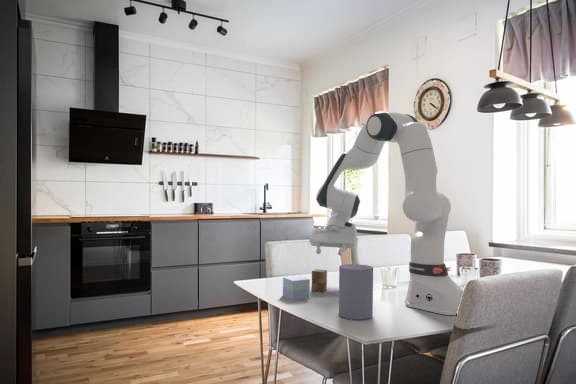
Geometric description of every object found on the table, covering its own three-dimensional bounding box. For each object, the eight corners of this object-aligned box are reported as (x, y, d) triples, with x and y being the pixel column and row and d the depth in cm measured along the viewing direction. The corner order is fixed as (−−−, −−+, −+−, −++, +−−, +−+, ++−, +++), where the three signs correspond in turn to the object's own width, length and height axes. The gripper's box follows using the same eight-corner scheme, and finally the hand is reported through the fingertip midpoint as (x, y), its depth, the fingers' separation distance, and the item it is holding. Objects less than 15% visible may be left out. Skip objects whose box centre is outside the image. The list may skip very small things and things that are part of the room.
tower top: (309, 289, 153) (309, 279, 153) (292, 290, 149) (292, 280, 149) (299, 285, 159) (299, 276, 159) (283, 287, 156) (283, 277, 156)
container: (379, 316, 131) (379, 267, 131) (359, 322, 124) (359, 270, 124) (352, 309, 138) (352, 263, 138) (331, 315, 131) (332, 266, 131)
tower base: (309, 298, 153) (309, 288, 153) (293, 300, 149) (293, 290, 149) (298, 294, 159) (298, 285, 159) (282, 296, 155) (282, 287, 155)
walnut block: (326, 290, 165) (326, 270, 166) (322, 293, 161) (323, 271, 161) (315, 289, 167) (316, 269, 167) (311, 291, 163) (311, 270, 163)
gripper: (312, 222, 186) (303, 247, 177) (358, 224, 177) (351, 250, 168) (315, 232, 190) (307, 256, 181) (360, 234, 181) (354, 260, 172)
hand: (328, 253), depth 174 cm, fingers open, 8 cm apart
